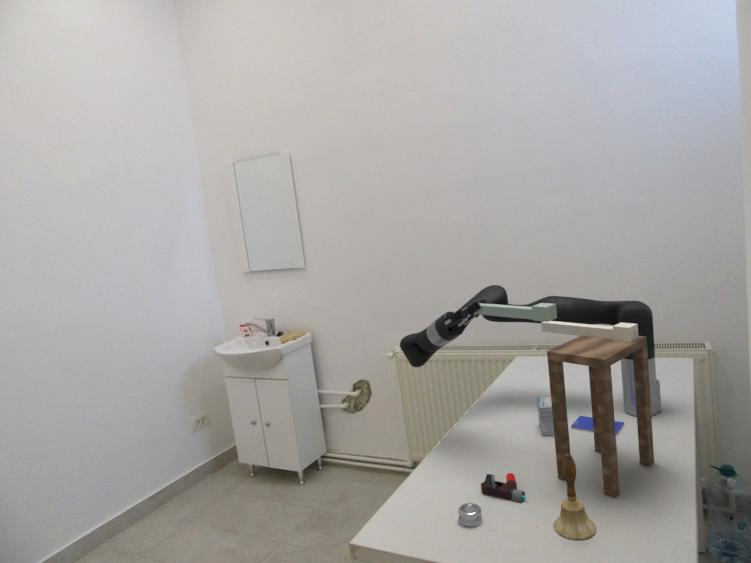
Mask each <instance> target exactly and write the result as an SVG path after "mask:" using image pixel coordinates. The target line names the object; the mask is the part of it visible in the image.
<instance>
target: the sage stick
mask: <svg viewBox="0 0 751 563" xmlns="http://www.w3.org/2000/svg"><path fill="white" fill-rule="evenodd" d="M479 304H480V307H481V308H480V309H479V310H478V311H476V312H475V313H473V314H479V316H481V315H490V316H500V317H511V318H522V319H532V320H534V321H544V322H549V321H551V320H553V319H556V318H557V311H556V304H551V303H540V304H537V305H534V306H532V307H526V306H512V305H499V304H484V303H479Z"/></svg>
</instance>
